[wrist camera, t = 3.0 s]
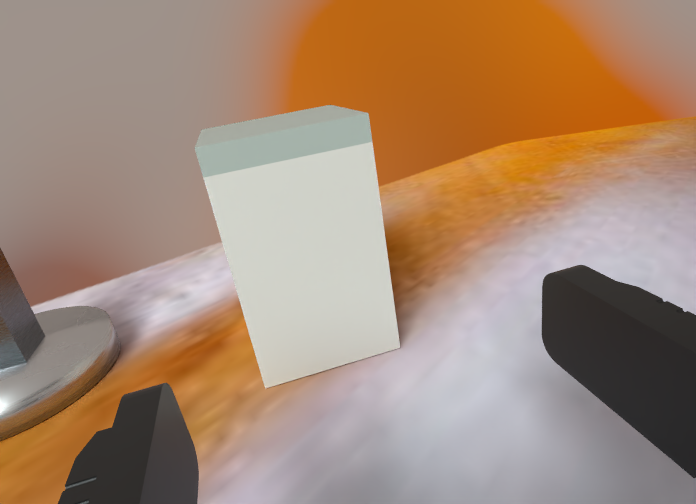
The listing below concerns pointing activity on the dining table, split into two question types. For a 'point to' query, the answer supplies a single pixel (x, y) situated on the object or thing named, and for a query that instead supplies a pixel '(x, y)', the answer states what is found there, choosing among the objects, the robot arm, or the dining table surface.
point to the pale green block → (303, 237)
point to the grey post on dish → (47, 356)
